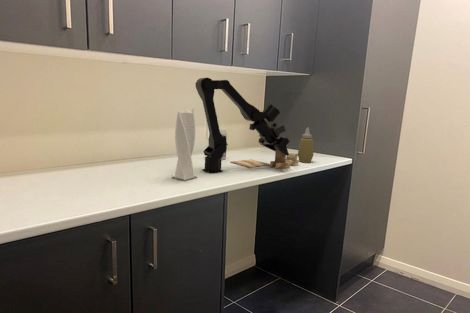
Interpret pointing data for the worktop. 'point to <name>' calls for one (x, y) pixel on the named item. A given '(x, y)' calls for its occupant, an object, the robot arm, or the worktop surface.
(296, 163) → the pine offcut lower
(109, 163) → the worktop surface
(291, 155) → the pine offcut upper
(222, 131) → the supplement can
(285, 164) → the oak rack
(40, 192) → the worktop surface
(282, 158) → the brown wooden block
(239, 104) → the robot arm
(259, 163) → the striped wooden board
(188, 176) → the skyscraper
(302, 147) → the squeeze bottle
